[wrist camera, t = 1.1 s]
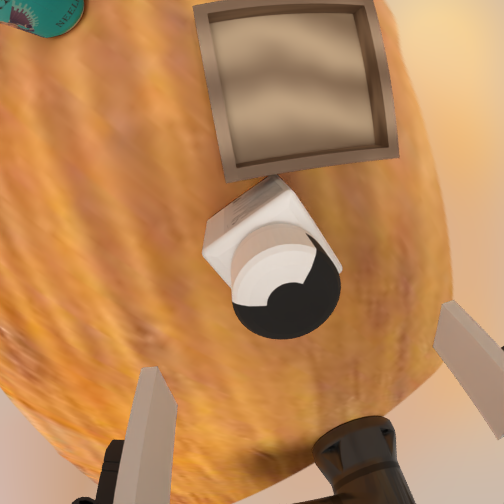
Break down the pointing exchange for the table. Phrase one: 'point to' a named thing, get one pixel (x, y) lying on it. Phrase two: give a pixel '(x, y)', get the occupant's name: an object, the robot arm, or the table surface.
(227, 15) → the crate
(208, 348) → the table surface
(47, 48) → the table surface
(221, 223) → the container
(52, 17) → the beverage can
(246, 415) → the table surface
